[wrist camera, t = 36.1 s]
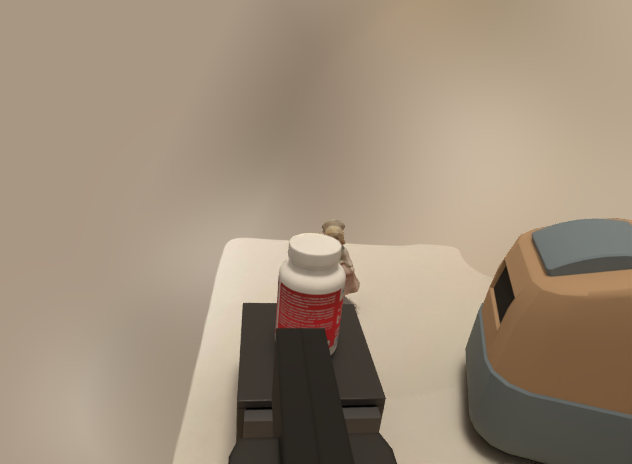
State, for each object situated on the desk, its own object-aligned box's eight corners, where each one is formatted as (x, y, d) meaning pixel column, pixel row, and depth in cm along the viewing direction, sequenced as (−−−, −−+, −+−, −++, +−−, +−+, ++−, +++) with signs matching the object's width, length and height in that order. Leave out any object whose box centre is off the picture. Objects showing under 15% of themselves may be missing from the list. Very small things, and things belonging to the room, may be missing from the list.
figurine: (292, 330, 61) (293, 220, 59) (280, 310, 70) (280, 215, 69) (367, 325, 63) (369, 219, 62) (345, 306, 73) (347, 215, 71)
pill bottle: (345, 361, 42) (360, 257, 38) (281, 369, 41) (289, 261, 36) (326, 323, 48) (337, 227, 43) (269, 328, 46) (274, 229, 42)
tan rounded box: (458, 354, 60) (502, 190, 51) (594, 386, 57) (668, 217, 47) (461, 456, 45) (524, 250, 36) (645, 507, 42) (769, 295, 32)
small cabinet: (370, 475, 42) (386, 398, 38) (235, 481, 40) (237, 401, 37) (344, 369, 55) (353, 303, 52) (241, 370, 54) (242, 302, 50)
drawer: (380, 529, 37) (395, 462, 34) (239, 538, 35) (242, 468, 32) (343, 377, 53) (351, 322, 50) (245, 378, 51) (247, 321, 48)
